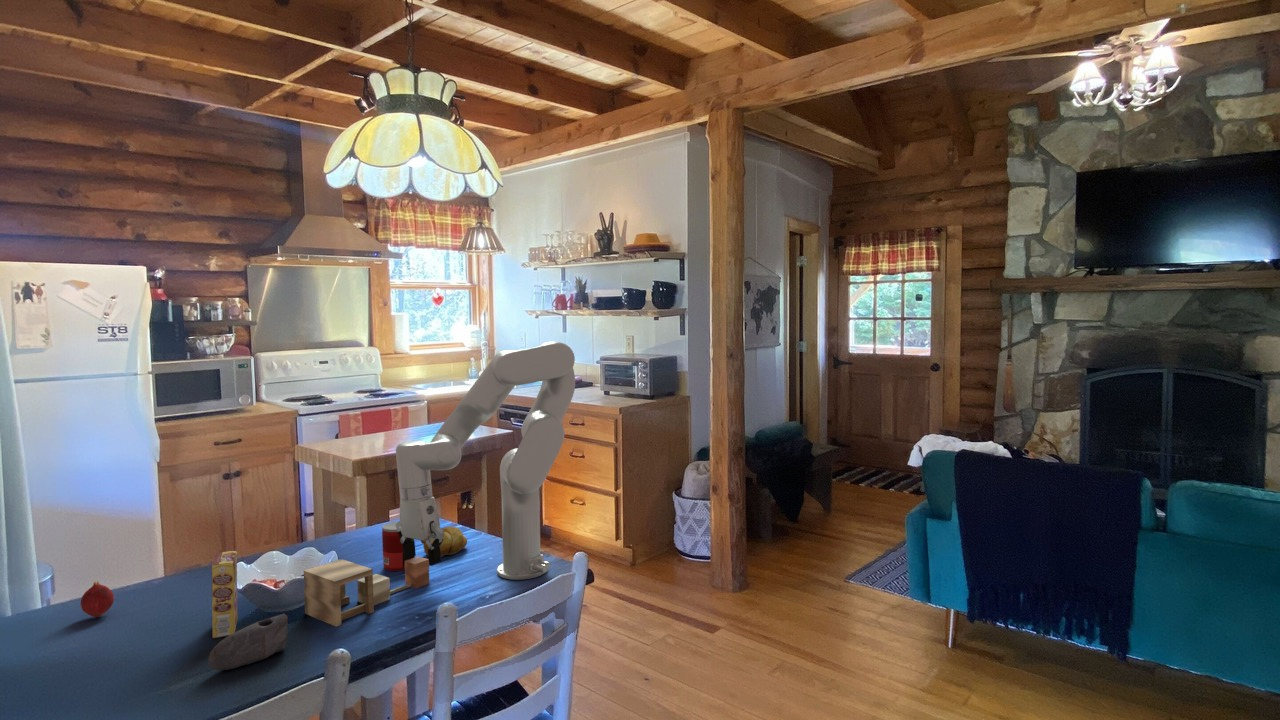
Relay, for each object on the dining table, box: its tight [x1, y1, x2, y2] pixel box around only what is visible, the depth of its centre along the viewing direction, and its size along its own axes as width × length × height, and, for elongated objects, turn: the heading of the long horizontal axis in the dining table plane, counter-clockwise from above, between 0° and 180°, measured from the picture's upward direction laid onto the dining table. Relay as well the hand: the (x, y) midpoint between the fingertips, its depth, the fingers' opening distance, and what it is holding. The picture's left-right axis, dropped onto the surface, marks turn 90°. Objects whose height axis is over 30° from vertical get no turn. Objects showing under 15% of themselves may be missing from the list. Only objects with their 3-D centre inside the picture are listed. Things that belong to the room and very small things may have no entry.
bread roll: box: [419, 526, 468, 558], centre depth 196 cm, size 13×10×8 cm
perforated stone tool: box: [207, 613, 289, 671], centre depth 134 cm, size 15×5×7 cm, turn 140°
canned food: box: [381, 521, 416, 572], centre depth 185 cm, size 8×8×11 cm
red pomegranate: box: [80, 580, 115, 618], centre depth 154 cm, size 6×6×8 cm
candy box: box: [211, 550, 239, 639], centre depth 148 cm, size 9×4×15 cm, turn 26°
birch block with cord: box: [356, 555, 430, 606], centre depth 167 cm, size 5×16×6 cm, turn 145°
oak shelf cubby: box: [303, 558, 375, 627], centre depth 155 cm, size 12×9×10 cm
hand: (422, 560), depth 172 cm, fingers open, 9 cm apart
